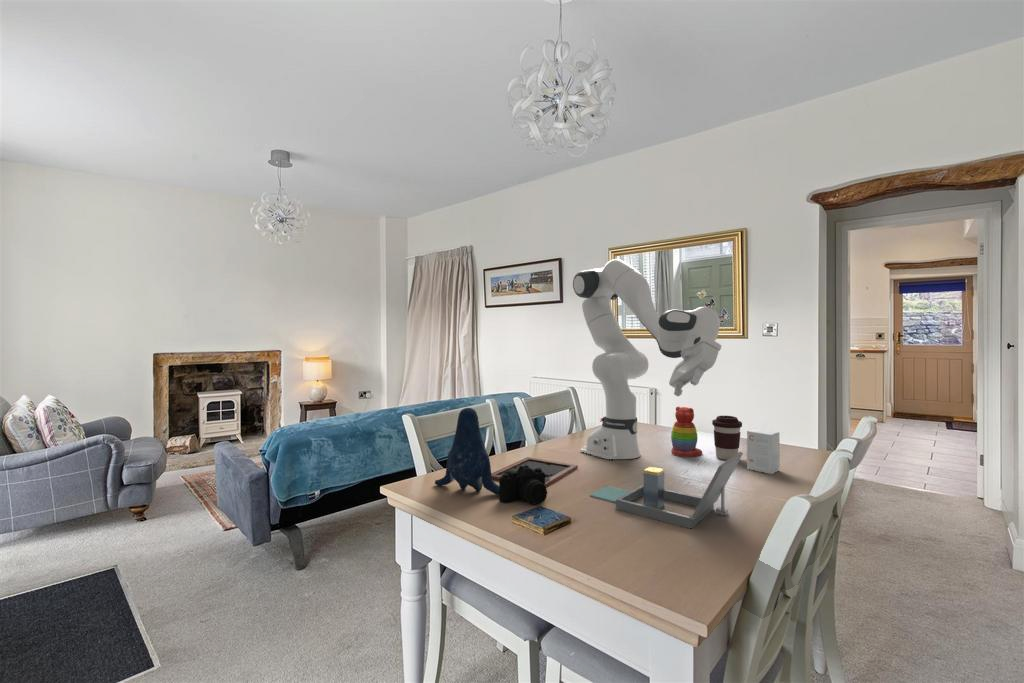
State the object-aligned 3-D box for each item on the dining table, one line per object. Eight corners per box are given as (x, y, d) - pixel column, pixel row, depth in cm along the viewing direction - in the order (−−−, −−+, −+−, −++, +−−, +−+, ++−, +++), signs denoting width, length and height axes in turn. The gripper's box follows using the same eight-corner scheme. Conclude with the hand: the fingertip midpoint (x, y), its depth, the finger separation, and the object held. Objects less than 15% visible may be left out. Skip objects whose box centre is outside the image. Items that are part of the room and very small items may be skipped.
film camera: (511, 511, 128) (511, 477, 128) (495, 499, 136) (495, 468, 136) (560, 501, 135) (560, 469, 134) (542, 491, 143) (542, 461, 143)
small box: (779, 471, 161) (780, 431, 160) (771, 474, 157) (771, 434, 156) (754, 465, 167) (755, 428, 167) (746, 469, 163) (746, 430, 163)
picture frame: (542, 491, 145) (577, 470, 166) (542, 484, 144) (577, 464, 166) (487, 480, 155) (527, 461, 176) (487, 474, 155) (527, 456, 176)
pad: (589, 496, 139) (589, 494, 139) (607, 487, 146) (607, 485, 146) (621, 504, 132) (621, 502, 132) (638, 494, 140) (638, 493, 140)
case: (615, 508, 129) (615, 447, 128) (642, 492, 141) (642, 436, 140) (722, 537, 111) (722, 466, 110) (742, 516, 123) (743, 452, 123)
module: (643, 506, 130) (643, 469, 130) (650, 502, 133) (650, 466, 133) (657, 510, 127) (657, 472, 127) (664, 506, 130) (664, 469, 130)
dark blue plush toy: (423, 491, 144) (421, 408, 143) (443, 480, 154) (442, 402, 153) (498, 504, 133) (497, 414, 132) (515, 491, 143) (514, 407, 142)
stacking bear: (704, 453, 183) (704, 406, 183) (693, 459, 176) (693, 410, 175) (676, 449, 191) (676, 403, 190) (665, 454, 183) (665, 407, 183)
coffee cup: (746, 461, 172) (747, 419, 172) (718, 461, 172) (718, 419, 172) (734, 454, 182) (734, 414, 182) (707, 454, 182) (708, 414, 182)
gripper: (670, 360, 158) (659, 396, 152) (705, 333, 140) (694, 371, 134) (688, 369, 158) (677, 405, 151) (725, 343, 140) (714, 382, 133)
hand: (685, 389), depth 142 cm, fingers open, 8 cm apart
